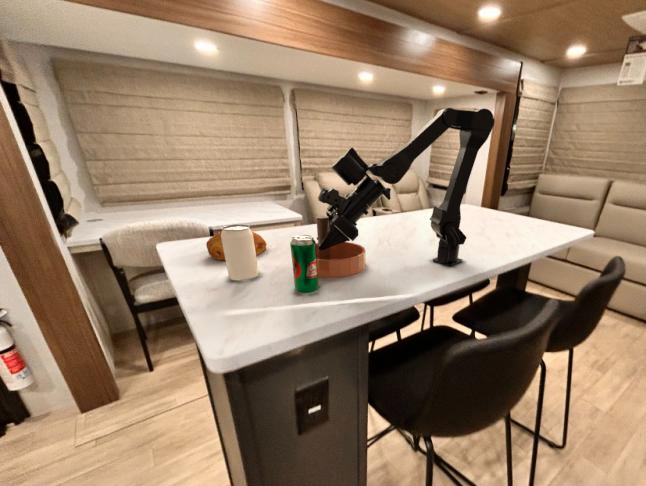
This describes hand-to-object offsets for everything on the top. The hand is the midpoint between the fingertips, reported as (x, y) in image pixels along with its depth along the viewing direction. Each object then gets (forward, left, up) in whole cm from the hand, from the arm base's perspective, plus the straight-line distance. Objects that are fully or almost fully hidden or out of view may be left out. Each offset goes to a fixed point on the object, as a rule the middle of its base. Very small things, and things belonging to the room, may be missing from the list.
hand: (318, 244), depth 78 cm
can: (+16, -8, -7) cm, 19 cm away
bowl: (-3, +2, -7) cm, 8 cm away
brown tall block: (-1, +1, -6) cm, 6 cm away
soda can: (+10, +9, -7) cm, 15 cm away
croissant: (+9, -26, -7) cm, 29 cm away
